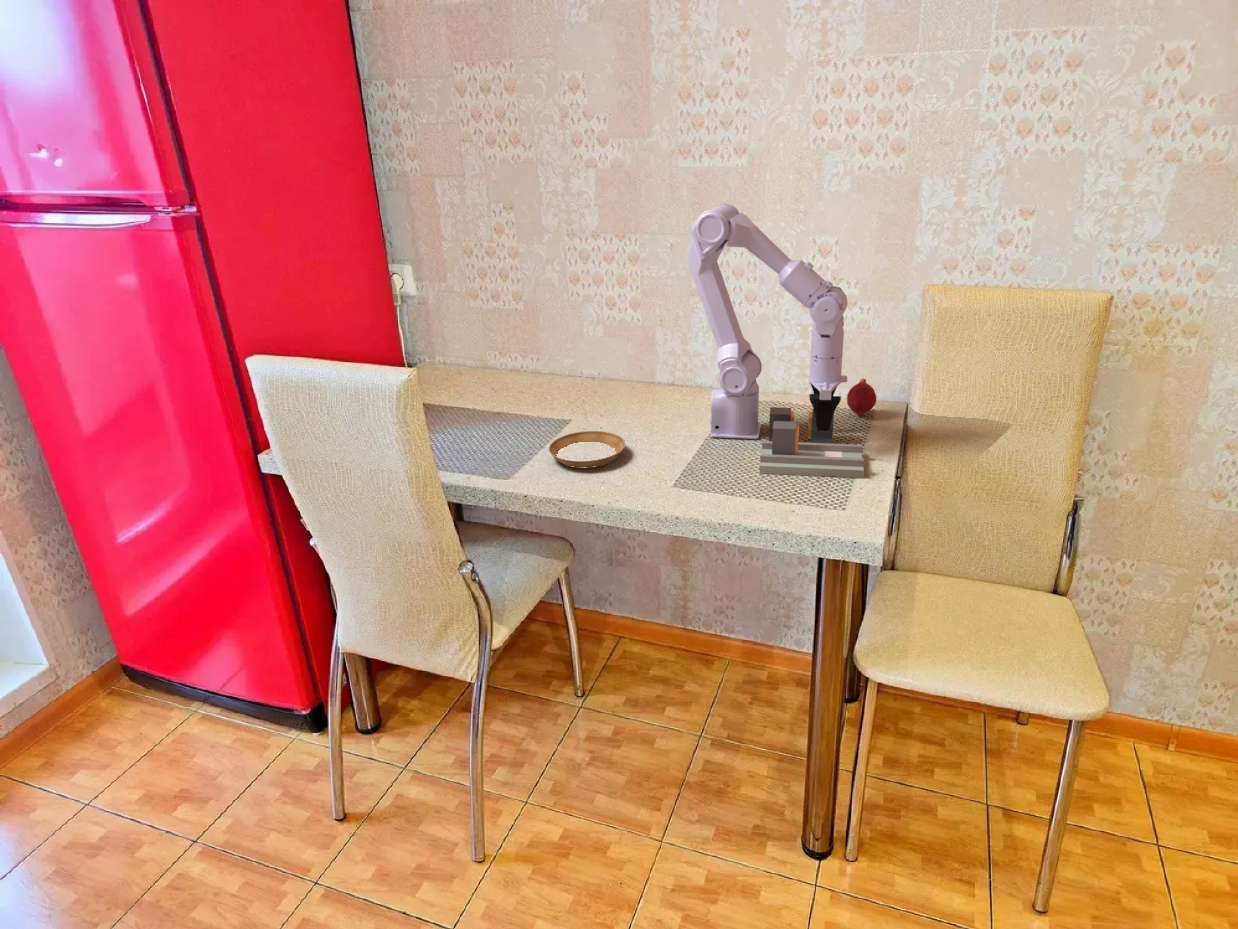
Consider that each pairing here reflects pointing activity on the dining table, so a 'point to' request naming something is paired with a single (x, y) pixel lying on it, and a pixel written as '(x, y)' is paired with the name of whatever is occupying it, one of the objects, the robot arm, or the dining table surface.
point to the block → (779, 417)
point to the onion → (861, 398)
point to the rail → (808, 455)
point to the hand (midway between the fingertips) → (822, 422)
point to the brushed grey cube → (819, 435)
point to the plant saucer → (588, 436)
